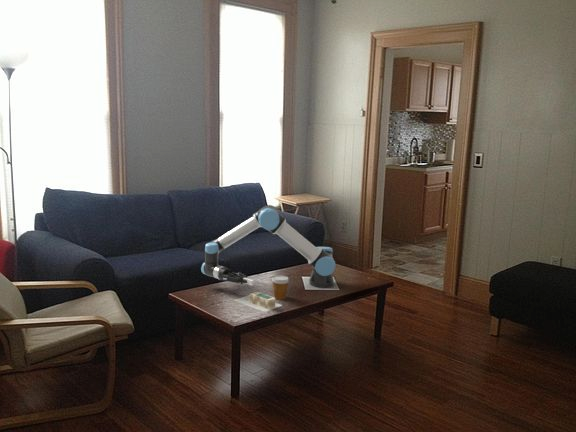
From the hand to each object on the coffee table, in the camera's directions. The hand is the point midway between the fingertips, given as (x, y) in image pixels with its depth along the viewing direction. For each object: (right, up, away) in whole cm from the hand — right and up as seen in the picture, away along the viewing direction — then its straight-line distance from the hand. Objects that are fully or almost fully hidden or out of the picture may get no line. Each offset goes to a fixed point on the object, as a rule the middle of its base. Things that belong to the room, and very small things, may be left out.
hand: (252, 282), depth 287 cm
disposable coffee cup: (+15, -10, +10) cm, 20 cm away
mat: (+3, -11, 0) cm, 12 cm away
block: (0, -8, +1) cm, 8 cm away
